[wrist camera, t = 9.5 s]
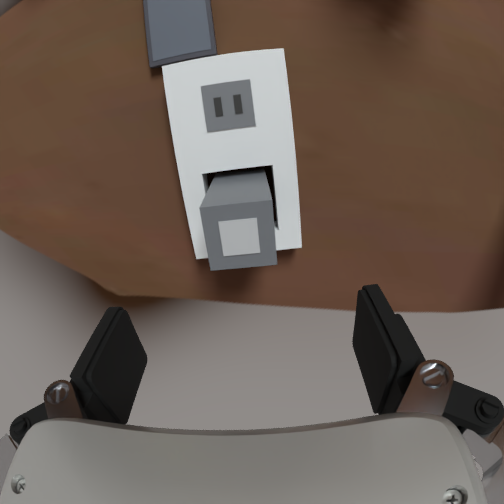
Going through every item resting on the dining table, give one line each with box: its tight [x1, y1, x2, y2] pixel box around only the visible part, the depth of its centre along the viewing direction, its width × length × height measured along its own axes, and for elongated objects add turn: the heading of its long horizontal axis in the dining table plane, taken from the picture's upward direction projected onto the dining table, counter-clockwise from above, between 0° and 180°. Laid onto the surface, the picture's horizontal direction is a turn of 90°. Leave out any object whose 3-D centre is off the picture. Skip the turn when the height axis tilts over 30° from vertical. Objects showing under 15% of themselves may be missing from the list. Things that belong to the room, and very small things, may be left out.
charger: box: [199, 169, 277, 271], centre depth 24 cm, size 4×4×10 cm
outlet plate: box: [162, 49, 302, 259], centre depth 25 cm, size 10×18×3 cm, turn 7°
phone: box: [143, 0, 218, 68], centre depth 19 cm, size 6×11×1 cm, turn 7°
